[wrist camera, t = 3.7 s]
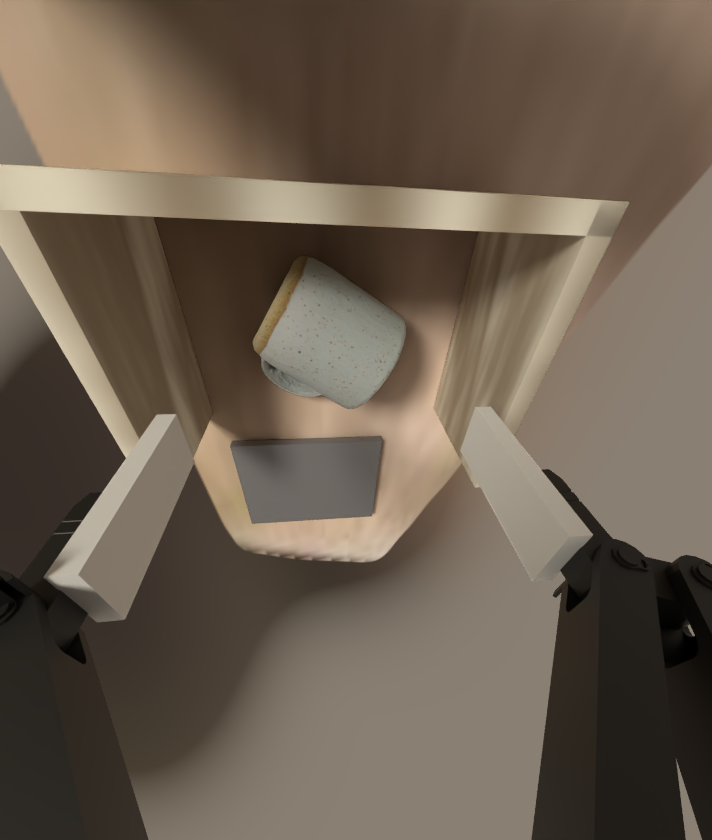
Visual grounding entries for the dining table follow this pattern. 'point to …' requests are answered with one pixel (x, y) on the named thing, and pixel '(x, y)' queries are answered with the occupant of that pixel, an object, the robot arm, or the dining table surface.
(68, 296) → the open box
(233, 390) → the dining table surface
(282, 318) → the ceramic mug
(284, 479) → the rubber mat
